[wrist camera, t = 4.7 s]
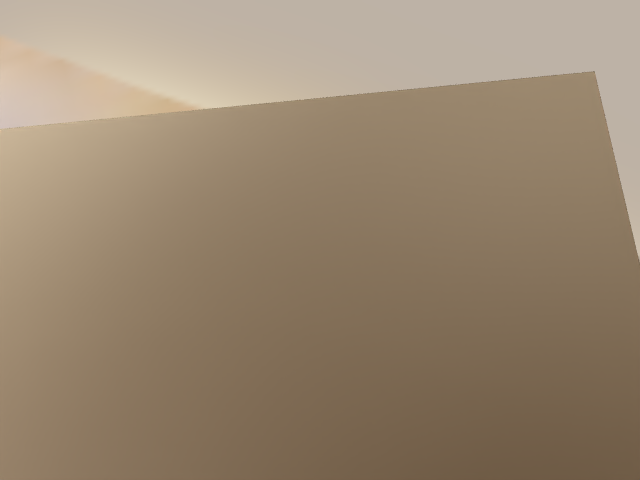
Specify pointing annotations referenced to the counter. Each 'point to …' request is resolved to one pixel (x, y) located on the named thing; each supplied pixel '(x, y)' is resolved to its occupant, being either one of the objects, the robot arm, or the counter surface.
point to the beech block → (323, 291)
